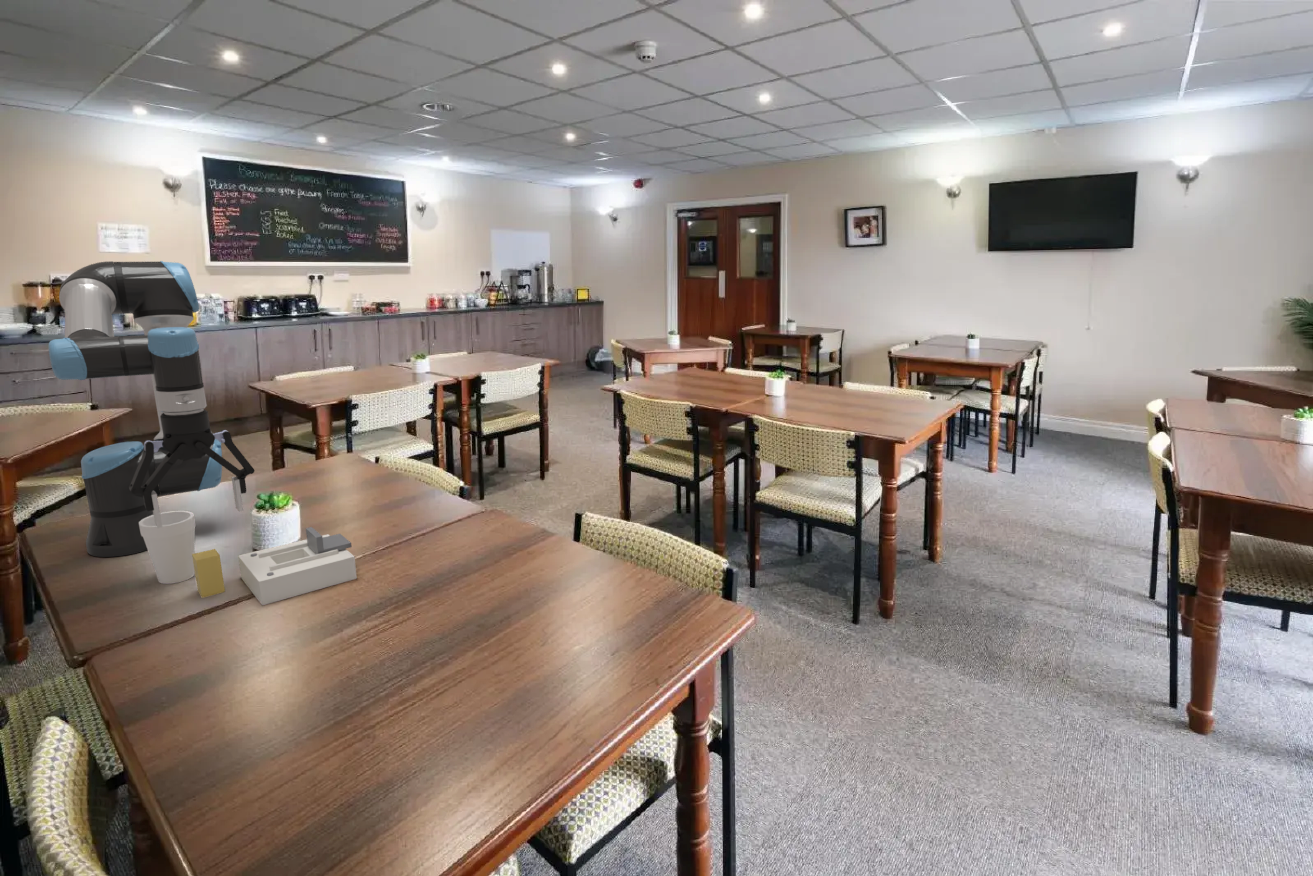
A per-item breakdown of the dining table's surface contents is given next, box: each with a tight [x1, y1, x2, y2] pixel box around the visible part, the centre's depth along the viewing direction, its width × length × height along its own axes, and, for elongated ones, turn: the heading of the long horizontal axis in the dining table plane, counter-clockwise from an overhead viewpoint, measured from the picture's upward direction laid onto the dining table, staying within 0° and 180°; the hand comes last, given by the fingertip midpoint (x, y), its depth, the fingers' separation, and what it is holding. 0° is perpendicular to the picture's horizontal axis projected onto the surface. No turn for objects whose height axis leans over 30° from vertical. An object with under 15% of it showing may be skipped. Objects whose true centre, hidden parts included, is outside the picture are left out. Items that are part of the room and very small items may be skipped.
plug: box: [192, 548, 226, 599], centre depth 141 cm, size 4×4×8 cm
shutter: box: [305, 526, 352, 554], centre depth 151 cm, size 7×7×4 cm
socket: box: [237, 533, 357, 606], centre depth 148 cm, size 16×18×6 cm
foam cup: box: [139, 510, 197, 585], centre depth 146 cm, size 10×9×13 cm
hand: (200, 517), depth 138 cm, fingers open, 13 cm apart
